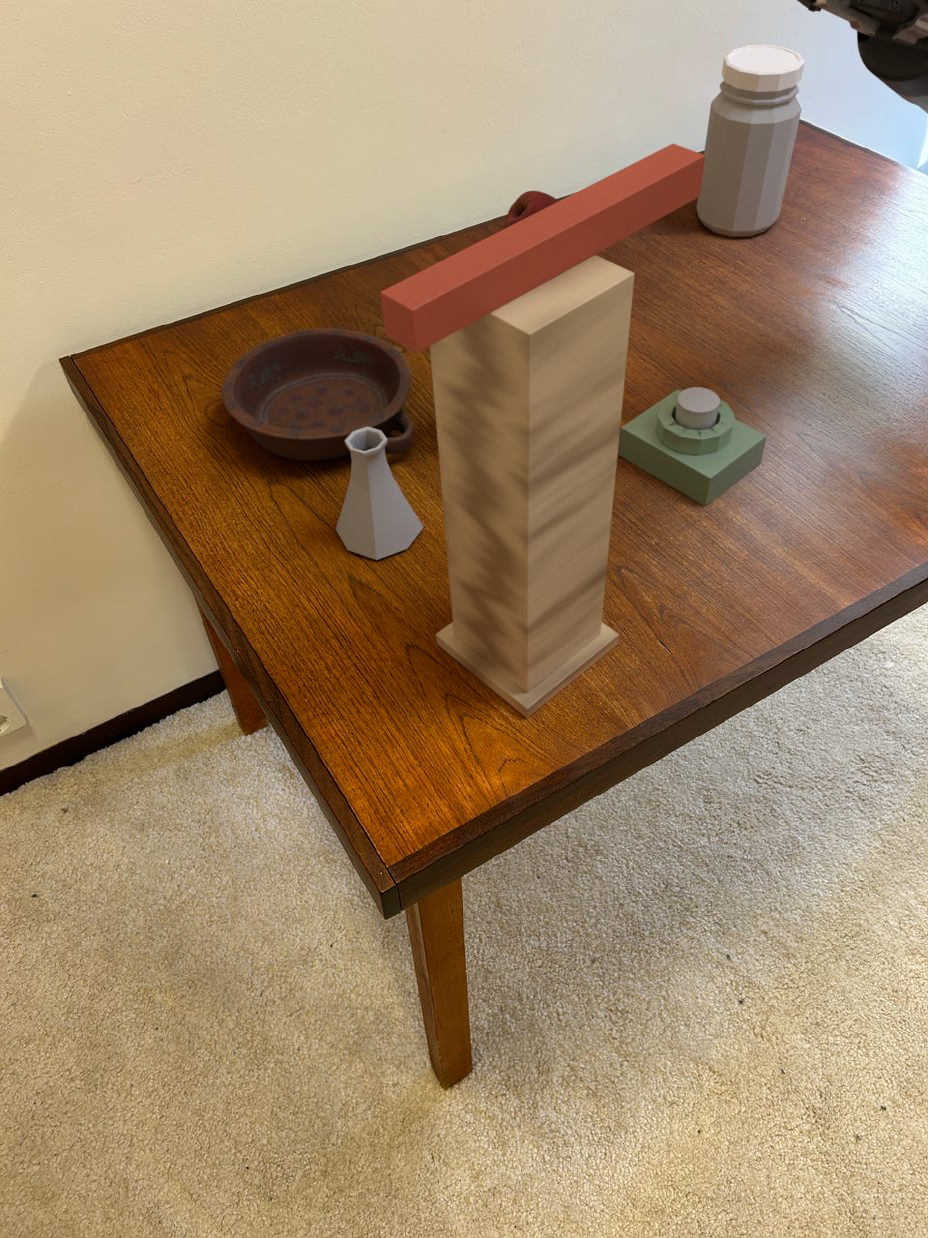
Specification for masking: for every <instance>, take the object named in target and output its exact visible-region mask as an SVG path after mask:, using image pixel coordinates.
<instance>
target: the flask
mask: <svg viewBox="0 0 928 1238" xmlns="http://www.w3.org/2000/svg"><path fill="white" fill-rule="evenodd" d="M387 442H388V441H387V438H386V435H384V434H383V433H382V431H381V430H378V429H374V428H371V427H364V428H361V429H358V430H355V431H353V432H352V433H351V434H350V435H349V436H348V437H347V438H346V440H345V444H346V446H347V447H348V449H349V450H350V452H351V454H350V459H351V466H350V478H349V483H348V487H347V490H346V493H345V498H344V501H343V504H342V508H341V511H340V514H339V517H338V520H337V524H336V527H335V531H336V533H337V535H338V536H339V538H340V539H341V541H342V544H343V545H344V546H345V548H346V550H347V551H349V552H351V553H355V554H358V555H361V556H364V557H366V558H369V559H372V560H376V561H379V560H381V559H383V558H386V557H389V556H391V555H394V554H397V553H399V552H402V551H406V550H407V549H409V547H410V546H411V545H412V543H413V542H414V541H415V540H416V539H417V538H418V536H419V534H420V533H421V532H422V530H423V529H424V525H423V523H422V522H421V520H420V519H419V517H418V516H417V514H416V512H415V511H414V509H413V508H412V506H411V504H410V503H409V501H408V500H407V498H406V497H405V494H404V493H403V491H402V489H401V487H400V486H399V485H398V482H397V481H396V480H395V477H394V475H393V474H392V471H391V468H390V465H389V463H388V460H387V456H386V455H387V454H385V446H386V445H387Z"/></svg>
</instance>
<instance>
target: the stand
mask: <svg viewBox="0 0 928 1238" xmlns="http://www.w3.org/2000/svg"><path fill="white" fill-rule="evenodd" d="M635 276H636V274H635V272H634V271H631V270H629V269H627V268H624V267H623V266H620V265H618V264H616V263H614V262H612V261H609V260H607V259H605V258H603V257H601V256H599V255H597V254H595V255H593V256H591V257H590V258H588V259H586V260H584V261H582V262H581V263H579V264H577V265H575V266H573V267H572V268H570V269H568V270H566V271H564V272H563V273H561V274H559V275H557V276H555V277H554V278H552V279H550V280H548V281H546V282H545V283H543V284H541V285H539V286H537V287H535V288H534V289H532V290H530V291H528V292H526V293H525V294H523V295H521V296H519V297H517V298H516V299H514V300H512V301H510V302H508V303H507V304H505V305H503V306H501V307H499V308H498V309H496V310H494V311H492V312H490V313H489V314H487V315H485V316H483V317H481V318H480V319H478V320H476V321H474V322H472V323H471V324H469V325H467V326H465V327H463V328H462V329H460V330H458V331H456V332H454V333H452V334H451V335H449V336H447V337H445V338H443V339H442V340H440V341H438V342H436V343H434V344H433V345H431V346H429V351H430V353H429V354H430V367H431V377H432V379H431V380H432V391H433V402H434V411H435V412H434V414H435V425H436V426H435V427H436V436H437V450H438V461H439V462H438V463H439V473H440V487H441V497H442V508H443V509H442V511H443V519H444V532H445V544H446V545H445V546H446V555H447V566H448V569H447V570H448V580H449V581H448V582H449V591H450V592H449V593H450V605H451V616H452V617H451V618H452V621H451V622H450V623H448V625H446V626H444V628H442V629H441V630H439V631H437V632H436V633H435V642H436V645H437V646H439V647H440V648H441V649H442V650H443V651H444V652H446V653H447V654H448V655H450V656H451V657H452V658H453V659H454V660H455V661H457V662H458V663H459V664H460V665H462V666H463V667H464V668H465V669H467V670H468V671H469V672H470V673H471V674H472V675H474V676H475V677H476V678H478V679H479V680H480V681H481V682H482V683H484V685H486V686H487V687H488V688H489V689H491V690H492V691H493V692H494V693H496V694H497V695H498V696H499V697H500V698H501V699H503V700H504V701H506V703H508V704H509V705H510V706H511V707H512V708H514V709H515V710H516V711H517V712H519V714H521V715H522V716H523V717H524V718H526V719H528V718H529V717H530V716H532V715H533V714H534V713H536V712H537V711H538V710H540V709H541V708H542V707H543V706H544V705H545V704H547V703H548V702H549V701H551V700H552V699H553V698H554V697H555V696H557V694H559V693H560V692H562V691H563V690H564V689H565V688H566V687H567V686H569V685H570V684H571V683H573V682H574V681H575V680H576V679H577V678H579V677H580V676H581V675H582V674H583V673H584V672H586V671H587V670H588V669H589V668H591V667H592V666H593V665H594V664H596V663H597V662H598V661H599V660H601V659H602V658H603V657H605V656H606V655H607V654H608V653H609V652H611V651H612V650H613V649H614V648H616V646H618V644H619V640H620V634H619V633H618V632H617V631H615V630H614V629H613V628H612V627H610V626H608V625H607V624H606V623H604V622H603V612H604V601H605V592H606V581H607V569H608V559H609V550H610V549H609V548H610V541H611V539H610V538H611V528H612V517H613V507H614V497H615V496H614V495H615V485H616V477H617V476H616V475H617V464H618V456H619V455H618V454H619V443H620V433H621V422H622V412H623V402H624V401H623V400H624V392H625V391H624V390H625V381H626V371H627V360H628V358H627V357H628V348H629V337H630V327H631V317H632V306H633V296H634V286H635Z"/></svg>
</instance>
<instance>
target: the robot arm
mask: <svg viewBox="0 0 928 1238" xmlns="http://www.w3.org/2000/svg"><path fill="white" fill-rule="evenodd" d="M796 1H797V2H798V3H800V4H801V6H804V7H805V8H807V11H810V12H812V13H815V12H821V11H822V10H823V11H825V12H828V13H830V14H832V15H834V16H836V17H838V18H840V19H842V20H844V21H846V22H848V24H849V26H850V28H851V29H853V30H855V31H856V44H857V49H858V54H859V57H860V59H861V62H862V64H863V65H864V67H865V68H866V69H867V70H868V71H869V72H870V73H871V75H873V76H874V77H876V78H877V79H878V80H879V81H880V82H882V83H883V84H884V85H886V86H887V87H888V88H889V89H890V90H891V91H892V92H894V93H895V94H897V95H898V96H899V98H902V99H903V100H905V101H906V102H908V103H909V104H913V105H914V106H918V107H919V108H920V109H921V110H923V112H925V113H926V114H928V0H796Z"/></svg>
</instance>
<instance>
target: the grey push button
mask: <svg viewBox="0 0 928 1238" xmlns="http://www.w3.org/2000/svg"><path fill="white" fill-rule="evenodd" d="M681 391H682V392H680V394H679V395H678V398H677V405H676V412H675V421H676V422H677V424H678V425H680V426H682V427H684V428H686V429H692V430H705V429H710V428H711V427H713V426H714V425H715V423H716V420H717V415H718V409H719V404H720V400H721V399H720V397H719V395H718V393H716V392H715V391H713V390H712V389H709V388H705V387H701V386H693V387H688V388H685V389H683V390H681Z"/></svg>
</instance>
